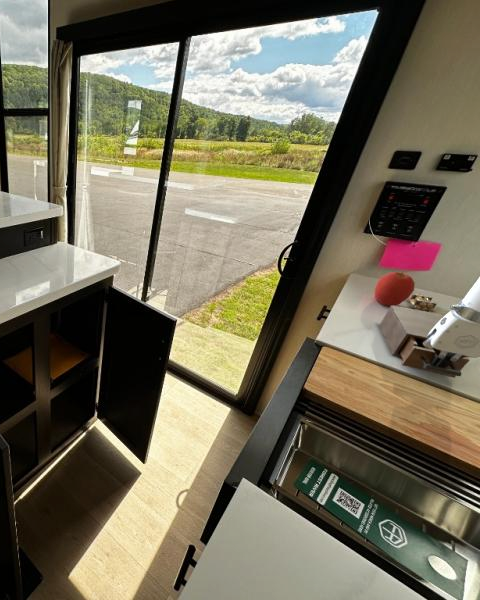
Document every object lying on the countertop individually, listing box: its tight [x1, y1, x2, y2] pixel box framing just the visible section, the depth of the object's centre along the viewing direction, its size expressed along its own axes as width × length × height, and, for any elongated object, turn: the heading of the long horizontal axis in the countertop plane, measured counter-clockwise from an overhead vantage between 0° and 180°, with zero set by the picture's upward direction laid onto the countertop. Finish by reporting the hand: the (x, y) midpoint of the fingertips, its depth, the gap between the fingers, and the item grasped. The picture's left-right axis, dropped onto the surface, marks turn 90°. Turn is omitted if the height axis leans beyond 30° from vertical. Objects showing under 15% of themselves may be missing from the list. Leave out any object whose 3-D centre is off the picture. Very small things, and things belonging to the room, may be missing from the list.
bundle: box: [407, 293, 438, 313], centre depth 118 cm, size 8×6×3 cm
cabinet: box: [378, 305, 444, 358], centre depth 99 cm, size 17×13×9 cm
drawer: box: [399, 336, 470, 379], centre depth 93 cm, size 20×11×7 cm, turn 153°
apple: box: [374, 271, 416, 307], centre depth 118 cm, size 10×10×14 cm
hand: (436, 367), depth 88 cm, fingers closed
